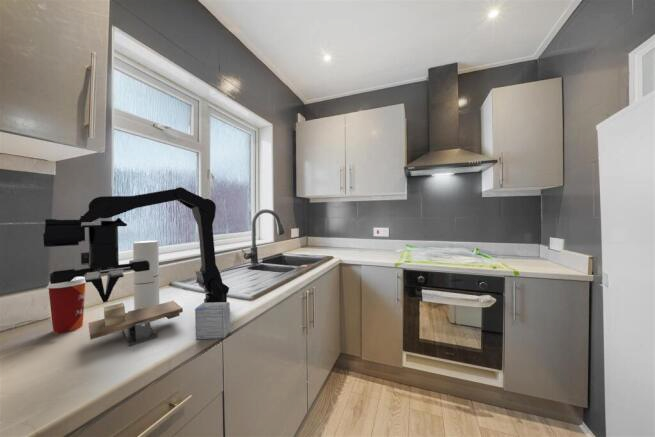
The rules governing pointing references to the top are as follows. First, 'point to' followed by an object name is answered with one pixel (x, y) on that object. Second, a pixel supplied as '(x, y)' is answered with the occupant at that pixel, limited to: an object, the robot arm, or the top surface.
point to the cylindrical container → (146, 275)
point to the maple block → (114, 314)
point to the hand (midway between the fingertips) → (105, 301)
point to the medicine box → (212, 320)
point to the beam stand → (139, 333)
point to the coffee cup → (67, 304)
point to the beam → (135, 318)
